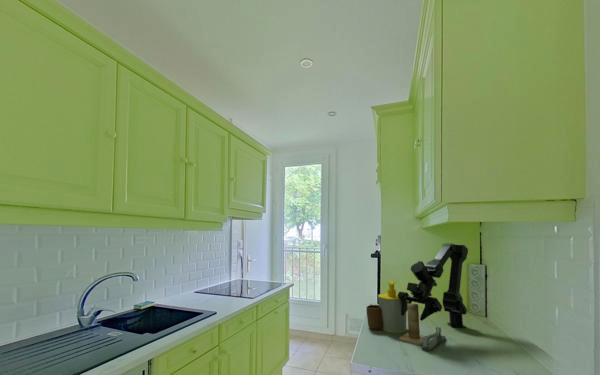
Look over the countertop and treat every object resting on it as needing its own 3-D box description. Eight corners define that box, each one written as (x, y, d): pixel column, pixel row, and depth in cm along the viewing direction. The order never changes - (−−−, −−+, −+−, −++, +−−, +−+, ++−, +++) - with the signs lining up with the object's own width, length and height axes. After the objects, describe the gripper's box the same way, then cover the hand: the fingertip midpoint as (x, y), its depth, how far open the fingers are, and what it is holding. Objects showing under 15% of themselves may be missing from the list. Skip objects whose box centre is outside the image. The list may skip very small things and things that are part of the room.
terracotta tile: (407, 334, 134) (407, 332, 135) (429, 339, 129) (428, 336, 129) (399, 340, 128) (399, 337, 128) (421, 345, 122) (421, 342, 122)
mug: (364, 323, 152) (362, 303, 153) (379, 322, 152) (377, 302, 153) (370, 330, 140) (368, 309, 141) (387, 329, 140) (384, 307, 142)
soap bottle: (380, 332, 138) (378, 283, 141) (378, 323, 151) (376, 279, 154) (410, 333, 136) (407, 284, 139) (405, 325, 148) (403, 280, 151)
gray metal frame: (437, 337, 131) (437, 326, 132) (446, 339, 129) (445, 327, 129) (422, 350, 117) (421, 337, 117) (431, 352, 115) (430, 339, 115)
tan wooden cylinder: (409, 334, 131) (408, 303, 134) (420, 336, 129) (418, 304, 131) (407, 337, 128) (406, 304, 130) (418, 339, 125) (417, 305, 128)
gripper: (398, 273, 142) (383, 301, 134) (436, 278, 127) (422, 309, 119) (410, 289, 145) (396, 317, 137) (447, 295, 130) (435, 327, 122)
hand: (411, 317), depth 129 cm, fingers open, 9 cm apart
